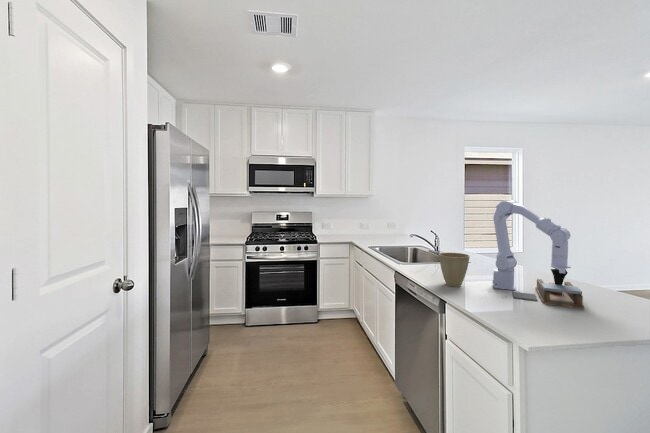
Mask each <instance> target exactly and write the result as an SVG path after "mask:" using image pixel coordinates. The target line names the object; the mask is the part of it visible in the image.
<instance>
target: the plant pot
mask: <svg viewBox="0 0 650 433" xmlns="http://www.w3.org/2000/svg"><path fill="white" fill-rule="evenodd" d="M470 257H471V255H469V254H467V253H461V252H440V253H438V258H439V265H440V270H441V273H442V276H443V280H444V282H445V285H447V286H449V287H456V288H457V287H462V285H463V282H464V281H465V277H466V274H467V271H468V267H469V263H470V262H469V261H470Z"/></svg>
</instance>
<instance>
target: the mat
mask: <svg viewBox="0 0 650 433" xmlns="http://www.w3.org/2000/svg"><path fill="white" fill-rule="evenodd" d="M511 293H512V298H513V299H514V300H515V299H517V300H525V301H533V302H534V301H535V302H538V298H537V296H536V294H535V293H528V292H518V291H512V292H511Z"/></svg>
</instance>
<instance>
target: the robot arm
mask: <svg viewBox="0 0 650 433" xmlns="http://www.w3.org/2000/svg"><path fill="white" fill-rule="evenodd" d="M495 207H496V208H495V211H494V215H493V218H492V219H493V225H494V230H495V231H494V232H495V239H496V244H497V249H498V252H497V254H496V260H495V266H496V269H495V268H493V272H492V274H493V275H492V276H493V279H492V287H493V288H494V289H501V290H509V291H515V290H516V286H515V267H516V266H517V264H518V263H517V258H516V257H515V256H514V253H513V252H512V250H511V245H510V238H509V232H508V226H507V220H508V218H509V217H510V216H511V215H513V214H515V215H517V214H518V215H521V216H522V217H523V218H525V219H527V220H529V221H530V222H533V223H534V224H535V227H536V229H538V230H539V231H541V232H542V233H544V234H546V235H547V236H548V237H550V240H551V241H552V244H551V262H550V271H551V273H552V276H553V283H555V284H556V285H564V284H563V283H564V280H565V278H566V276H567V274H568V271H567V269H571V265H568V256H569V240H570V238H571V233H570V231H569V230H568V229H567V228H564V227H563V228H562V226H561V225H557V224H556V223H555V222H553V221H552V219H551V218H546V217H540V216H538V214H536V213H534V212H533V211H532V210H530V209H529V208H527V207H526V206H524V205H523V204H522V203H520V202H518V201H516V200H502V201H500V202H499V203H498V204H496V206H495Z"/></svg>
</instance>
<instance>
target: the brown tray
mask: <svg viewBox="0 0 650 433" xmlns="http://www.w3.org/2000/svg"><path fill="white" fill-rule="evenodd" d="M541 283H545V282H544V280H543V279H541V278H540V279H539V278H536V286H535V292H536V293H537V295H538V297H539V299H540V302H541V303H542V304H544V305H551V306H560V307H568V308H574V309H575V308H576V309H585V306H584V305H583V299H584V296H583V294H582V295H581V294H572V293H563V292H562V295H558V294H550V292H549V291H544V290H543V288H542V286H541ZM563 283H564V284H563V285H566V286H574V284H572V283H571V281H563Z"/></svg>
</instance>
